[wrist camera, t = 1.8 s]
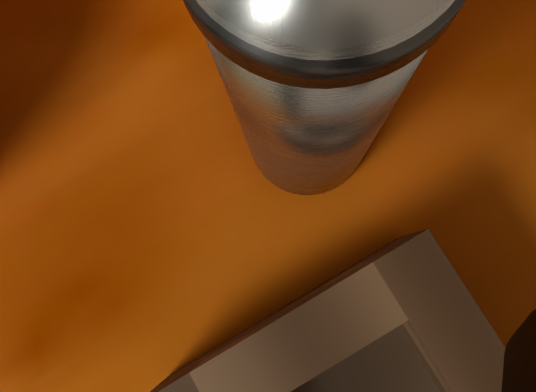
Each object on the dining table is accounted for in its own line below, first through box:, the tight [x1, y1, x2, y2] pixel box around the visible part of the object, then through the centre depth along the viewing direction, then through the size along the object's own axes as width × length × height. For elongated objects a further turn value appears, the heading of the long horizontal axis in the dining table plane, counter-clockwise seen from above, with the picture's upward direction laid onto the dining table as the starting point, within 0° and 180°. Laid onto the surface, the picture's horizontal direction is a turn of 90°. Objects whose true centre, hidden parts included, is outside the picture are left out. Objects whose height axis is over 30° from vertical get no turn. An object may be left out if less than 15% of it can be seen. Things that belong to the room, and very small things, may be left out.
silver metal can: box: [183, 0, 466, 195], centre depth 13 cm, size 5×5×13 cm
